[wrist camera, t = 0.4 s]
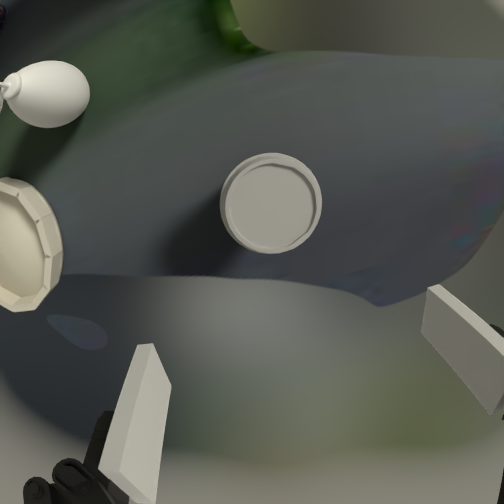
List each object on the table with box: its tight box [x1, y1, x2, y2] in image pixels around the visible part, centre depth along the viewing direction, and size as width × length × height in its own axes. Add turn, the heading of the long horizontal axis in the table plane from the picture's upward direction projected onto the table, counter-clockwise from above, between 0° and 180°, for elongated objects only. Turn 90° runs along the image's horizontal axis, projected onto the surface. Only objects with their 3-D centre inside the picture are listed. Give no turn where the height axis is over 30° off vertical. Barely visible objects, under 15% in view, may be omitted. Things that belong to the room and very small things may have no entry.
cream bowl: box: [0, 177, 64, 312], centre depth 34 cm, size 20×20×4 cm
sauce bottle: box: [0, 61, 90, 128], centre depth 22 cm, size 8×8×18 cm
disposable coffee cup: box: [220, 153, 322, 254], centre depth 32 cm, size 10×10×12 cm
